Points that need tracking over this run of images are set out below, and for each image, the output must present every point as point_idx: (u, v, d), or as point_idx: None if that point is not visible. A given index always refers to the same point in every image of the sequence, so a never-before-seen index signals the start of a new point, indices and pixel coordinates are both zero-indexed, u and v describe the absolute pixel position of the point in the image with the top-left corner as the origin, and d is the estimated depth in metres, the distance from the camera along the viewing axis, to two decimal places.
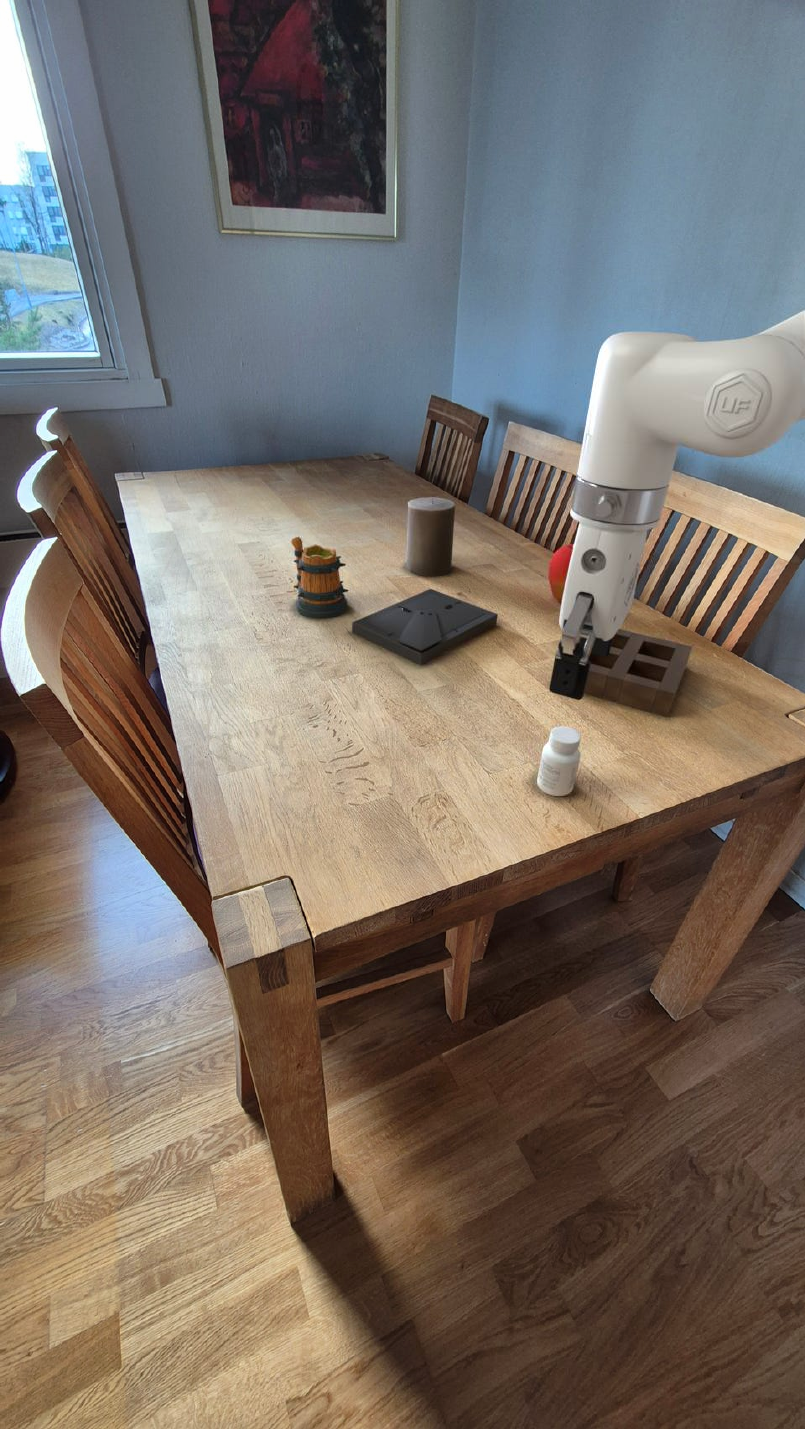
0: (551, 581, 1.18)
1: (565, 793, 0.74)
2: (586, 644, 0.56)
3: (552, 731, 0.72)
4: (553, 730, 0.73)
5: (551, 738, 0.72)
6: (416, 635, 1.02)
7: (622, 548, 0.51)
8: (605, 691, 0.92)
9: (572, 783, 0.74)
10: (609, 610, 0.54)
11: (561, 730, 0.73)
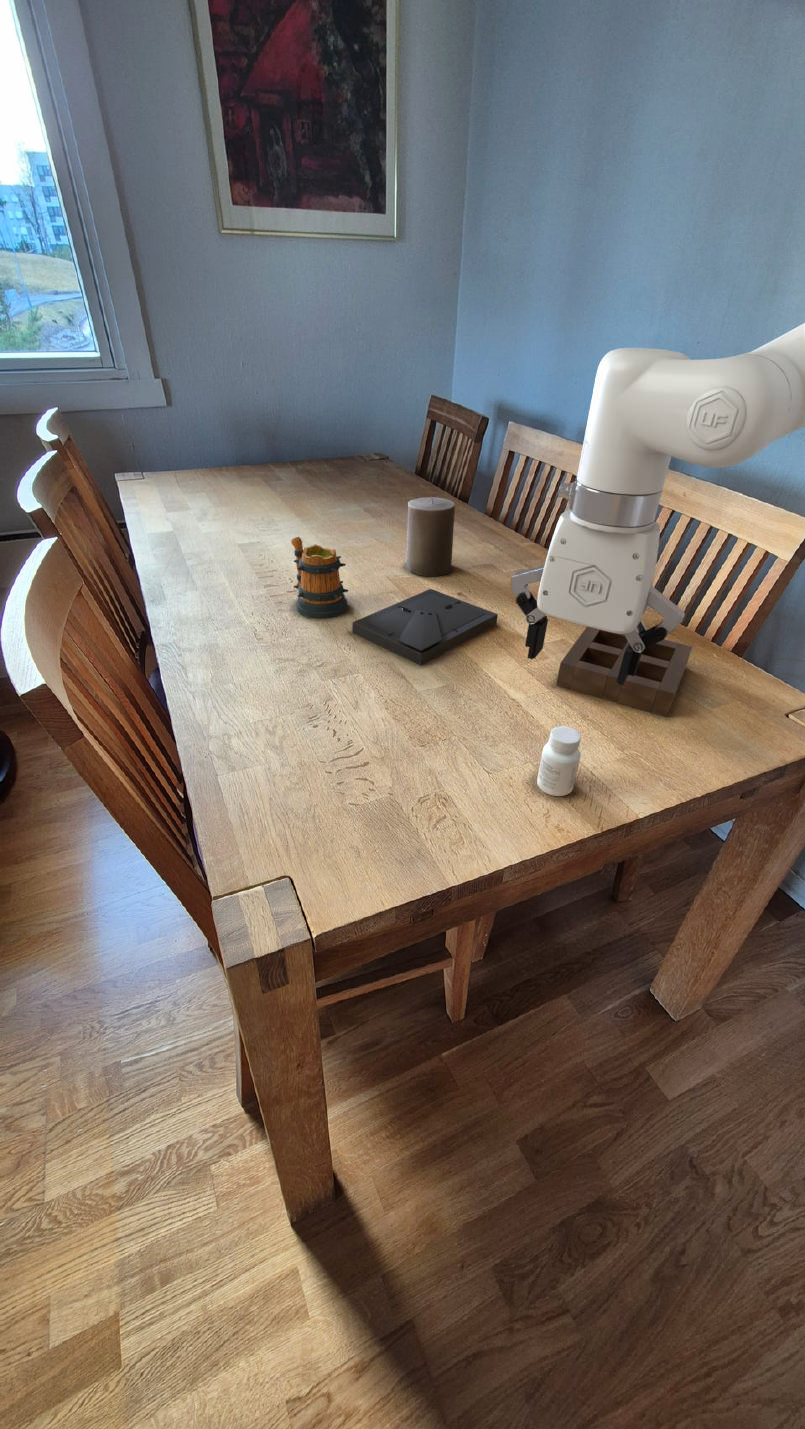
0: None
1: (565, 793, 0.74)
2: (536, 607, 0.65)
3: (552, 731, 0.72)
4: (553, 730, 0.73)
5: (551, 738, 0.72)
6: (416, 635, 1.02)
7: (557, 528, 0.59)
8: (605, 691, 0.92)
9: (572, 783, 0.74)
10: (541, 580, 0.62)
11: (561, 730, 0.73)
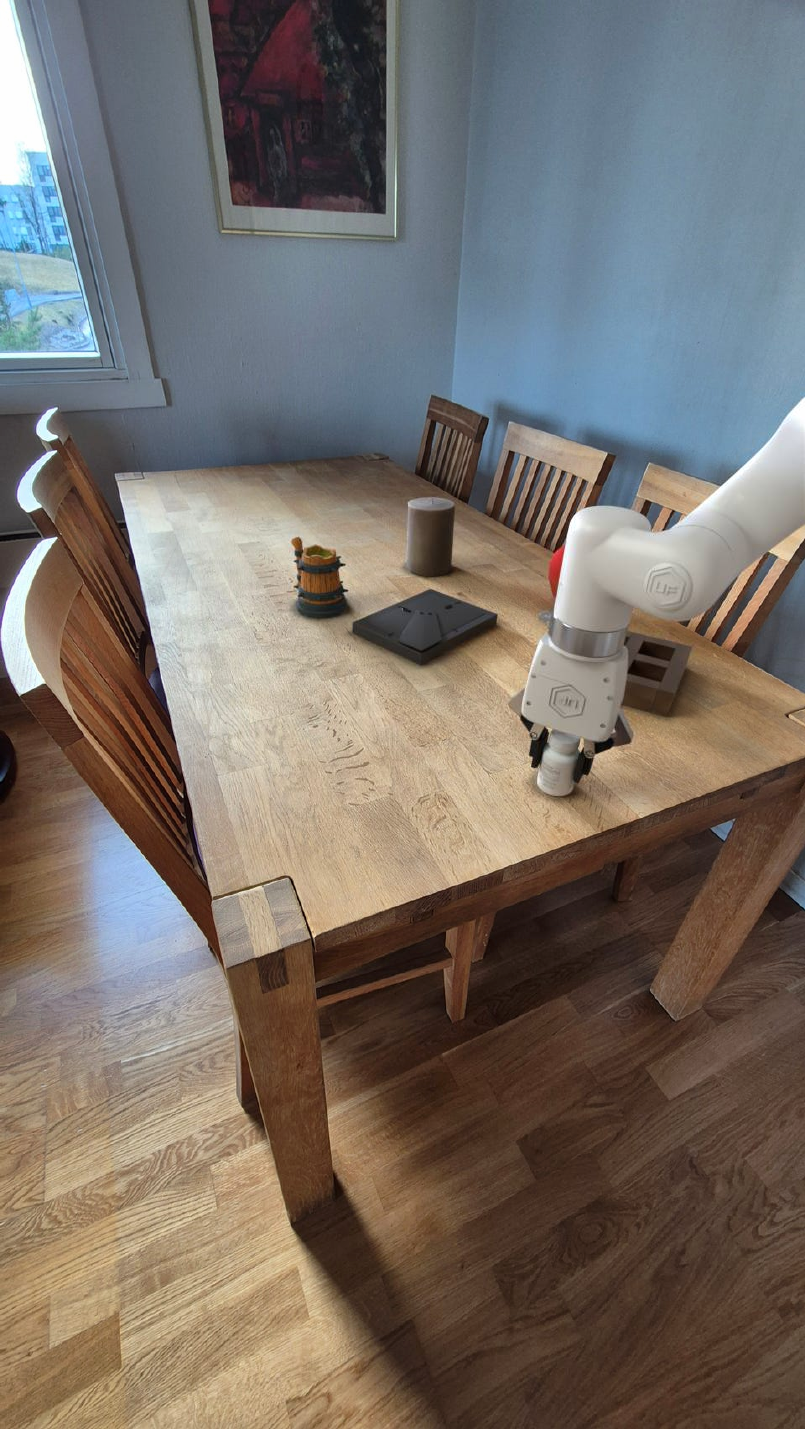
0: (551, 581, 1.18)
1: (565, 793, 0.74)
2: (533, 724, 0.72)
3: (552, 731, 0.72)
4: (553, 730, 0.73)
5: (551, 738, 0.72)
6: (416, 635, 1.02)
7: (537, 650, 0.66)
8: None
9: (572, 783, 0.74)
10: (524, 691, 0.69)
11: None
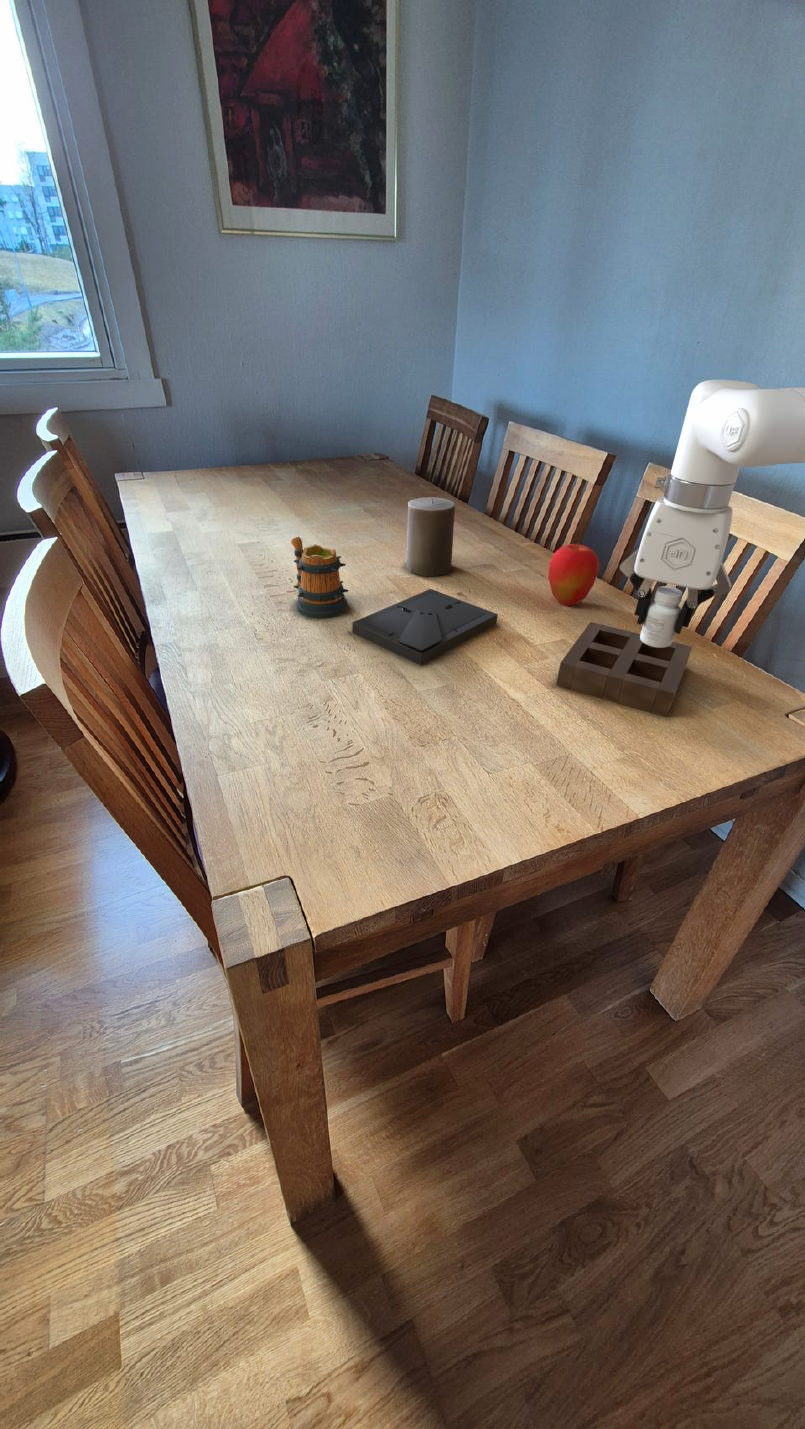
0: (551, 581, 1.18)
1: (666, 645, 0.88)
2: (642, 582, 0.86)
3: (658, 589, 0.86)
4: (658, 588, 0.86)
5: (657, 594, 0.85)
6: (416, 635, 1.02)
7: (654, 511, 0.79)
8: (605, 691, 0.92)
9: (672, 635, 0.87)
10: (639, 550, 0.83)
11: (665, 588, 0.86)
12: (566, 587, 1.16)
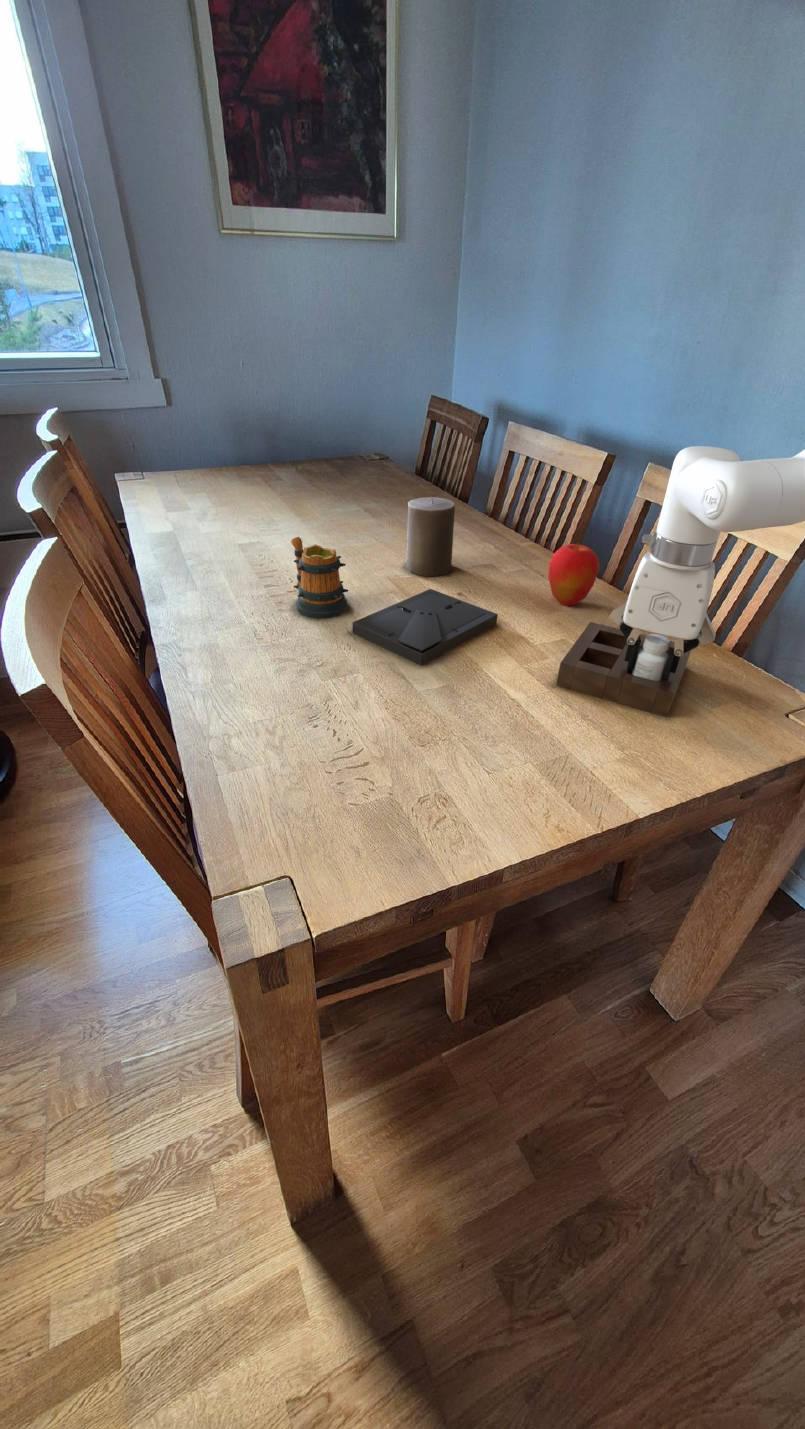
0: (551, 581, 1.18)
1: None
2: (631, 631, 0.89)
3: (646, 637, 0.90)
4: (647, 636, 0.90)
5: (646, 642, 0.89)
6: (416, 635, 1.02)
7: (641, 566, 0.83)
8: (605, 691, 0.92)
9: (661, 681, 0.91)
10: (627, 602, 0.86)
11: (653, 636, 0.90)
12: (566, 587, 1.16)
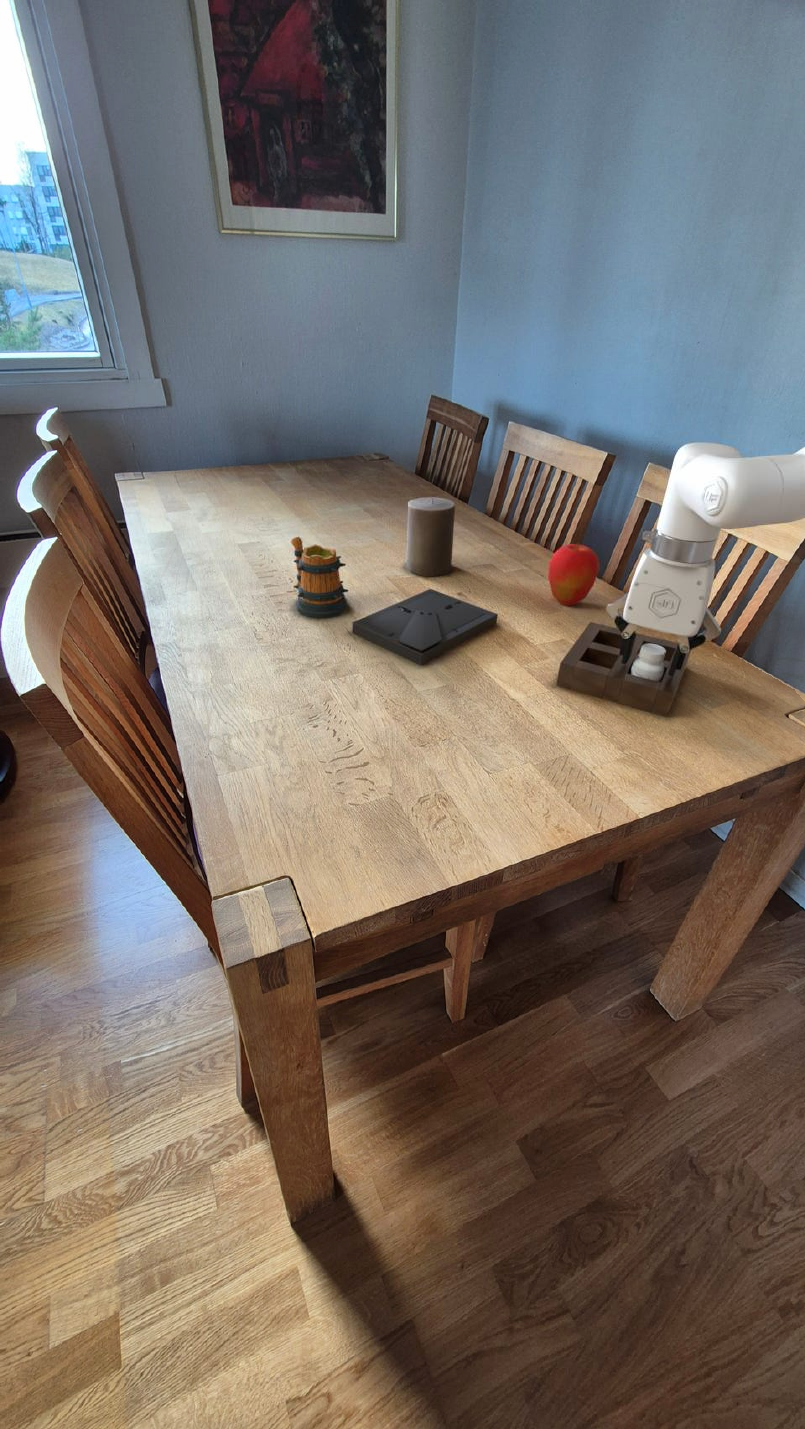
0: (551, 581, 1.18)
1: None
2: (627, 625, 0.89)
3: (642, 646, 0.90)
4: (643, 646, 0.91)
5: (642, 651, 0.90)
6: (416, 635, 1.02)
7: (641, 562, 0.83)
8: (605, 691, 0.92)
9: None
10: (627, 599, 0.86)
11: (649, 646, 0.91)
12: (566, 587, 1.16)
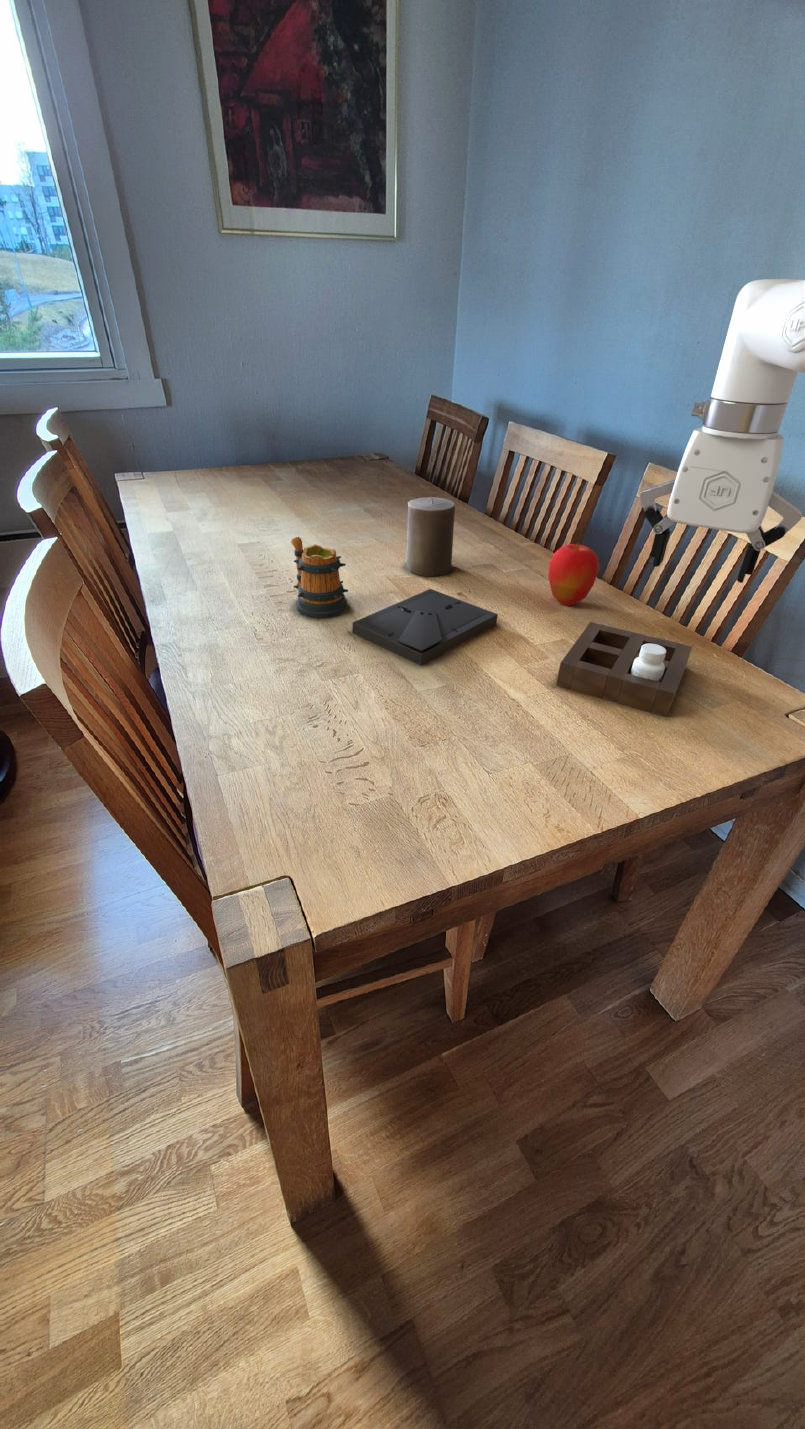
0: (551, 581, 1.18)
1: None
2: (664, 518, 0.75)
3: (642, 646, 0.90)
4: (643, 646, 0.91)
5: (642, 651, 0.90)
6: (416, 635, 1.02)
7: (691, 441, 0.69)
8: (605, 691, 0.92)
9: None
10: (672, 490, 0.72)
11: (649, 646, 0.91)
12: (566, 587, 1.16)
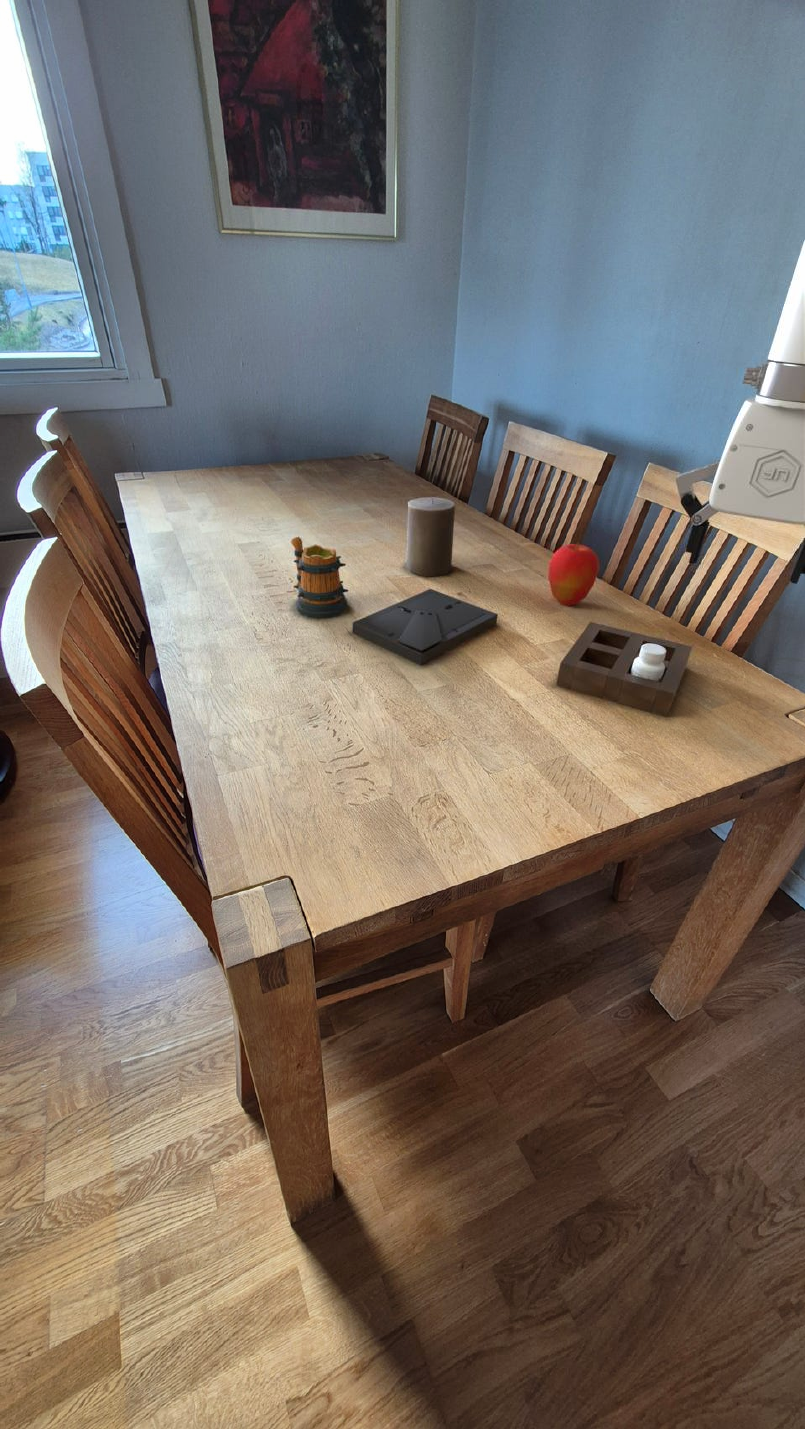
0: (551, 581, 1.18)
1: None
2: (704, 506, 0.64)
3: (642, 646, 0.90)
4: (643, 646, 0.91)
5: (642, 651, 0.90)
6: (416, 635, 1.02)
7: (742, 414, 0.57)
8: (605, 691, 0.92)
9: None
10: (717, 473, 0.61)
11: (649, 646, 0.91)
12: (566, 587, 1.16)
